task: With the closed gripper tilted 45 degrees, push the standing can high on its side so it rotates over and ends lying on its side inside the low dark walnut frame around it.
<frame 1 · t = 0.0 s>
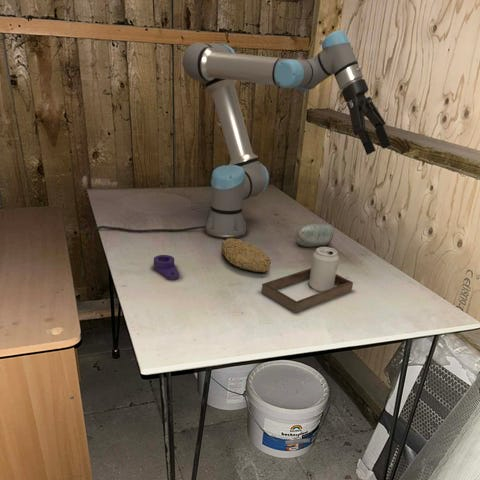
hand: (379, 149, 149), 36 cm above the table, tool tilted 35°, fingers open, 13 cm apart
can: (320, 287, 145), resting in walnut frame
streaked grey-green pebble: (313, 245, 174), on the table
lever: (167, 272, 147), on the table
sponge: (244, 265, 155), on the table
walnut frame: (307, 292, 141), on the table
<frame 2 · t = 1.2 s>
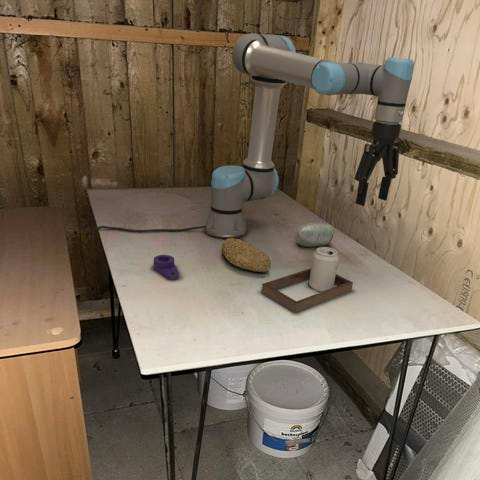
hand: (371, 201, 142), 24 cm above the table, tool pointing down, fingers open, 10 cm apart
nothing on the table moved.
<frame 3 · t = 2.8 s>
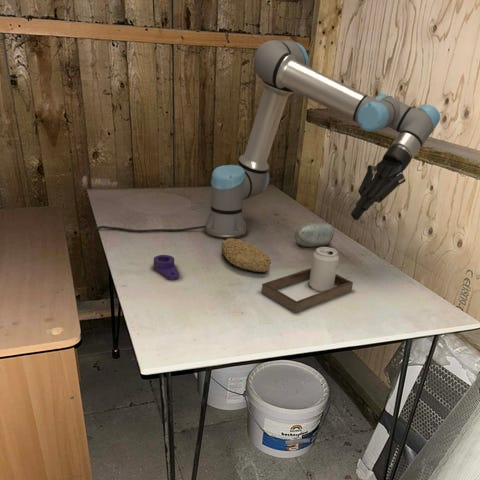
hand: (354, 217, 140), 20 cm above the table, tool tilted 45°, fingers closed
nothing on the table moved.
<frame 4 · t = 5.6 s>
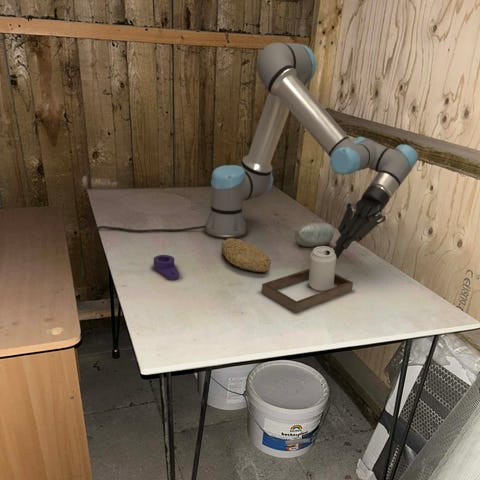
hand: (334, 255, 142), 10 cm above the table, tool tilted 45°, fingers closed
can: (320, 286, 145), resting in walnut frame, touching gripper
everything else where it was.
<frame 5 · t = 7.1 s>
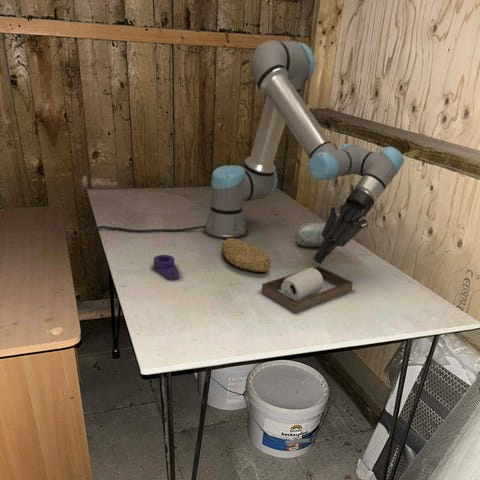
hand: (317, 261, 138), 10 cm above the table, tool tilted 45°, fingers closed
can: (315, 279, 141), point 4 cm above the table
everything else where it was.
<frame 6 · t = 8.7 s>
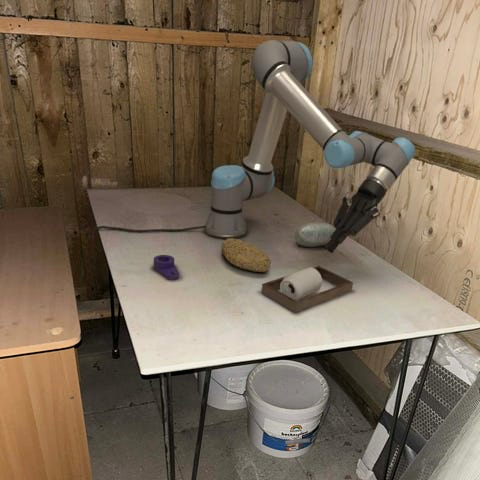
hand: (328, 250, 139), 12 cm above the table, tool tilted 45°, fingers closed
nothing on the table moved.
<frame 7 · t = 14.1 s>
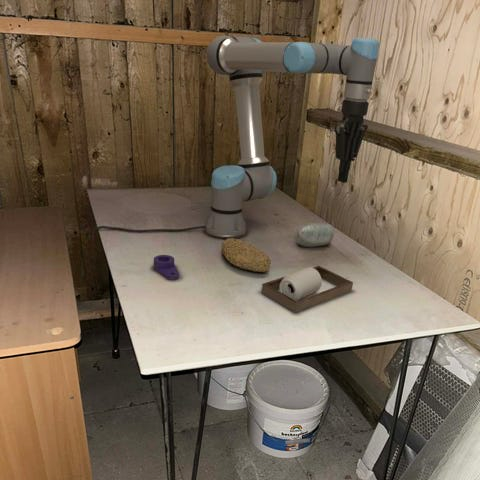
hand: (342, 181, 150), 26 cm above the table, tool pointing down, fingers closed
nothing on the table moved.
at the end: can tilted 90°; can inside the target area on the walnut frame (2.4 cm from its centre), point 3.7 cm above the walnut frame's base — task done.
